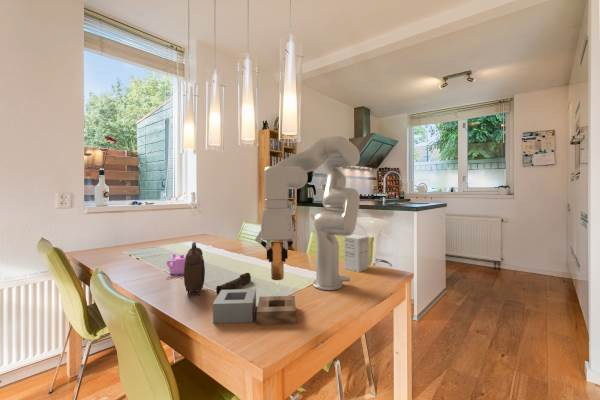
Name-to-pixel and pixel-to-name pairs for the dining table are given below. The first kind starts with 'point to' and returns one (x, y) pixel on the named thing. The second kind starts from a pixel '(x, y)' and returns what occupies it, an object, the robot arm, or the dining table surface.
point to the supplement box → (356, 252)
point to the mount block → (276, 310)
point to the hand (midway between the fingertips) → (277, 260)
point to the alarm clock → (194, 269)
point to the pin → (277, 260)
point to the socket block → (234, 306)
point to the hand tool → (235, 283)
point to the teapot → (177, 264)
